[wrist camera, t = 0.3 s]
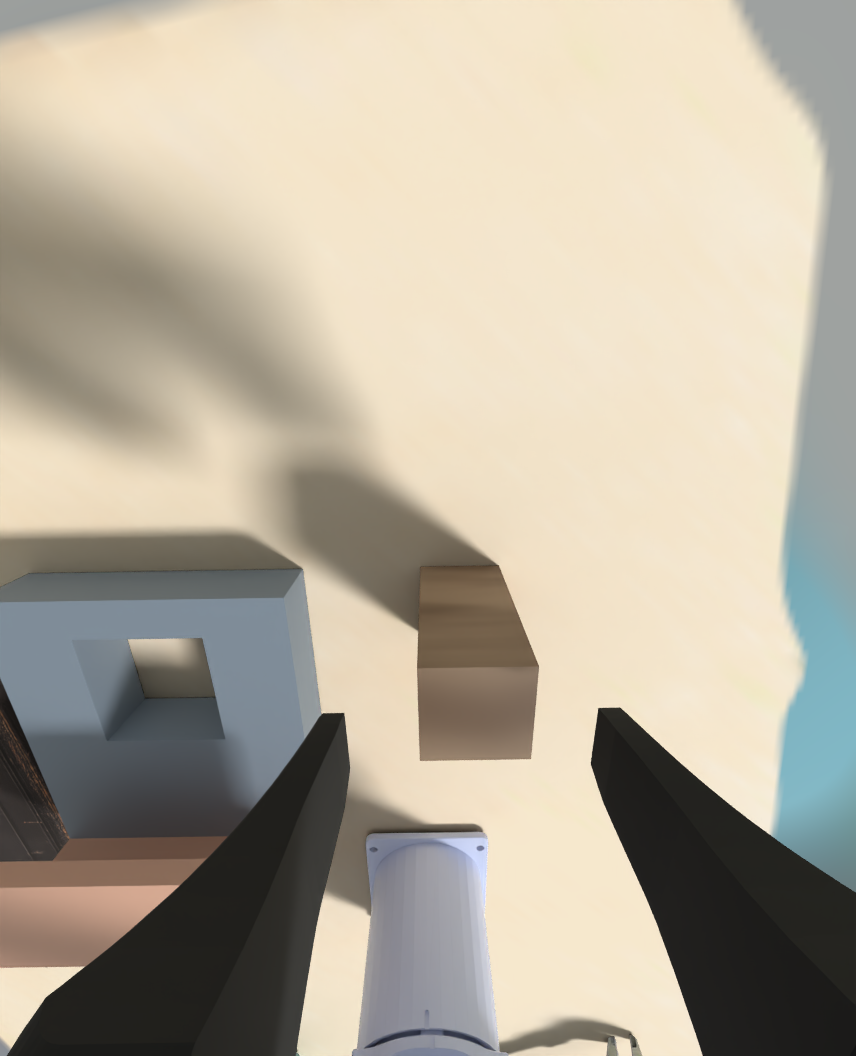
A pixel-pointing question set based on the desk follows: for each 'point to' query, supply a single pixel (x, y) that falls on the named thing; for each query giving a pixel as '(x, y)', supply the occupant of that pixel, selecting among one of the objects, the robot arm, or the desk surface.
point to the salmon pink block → (89, 895)
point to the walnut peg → (473, 668)
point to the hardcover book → (24, 797)
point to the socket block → (160, 723)
